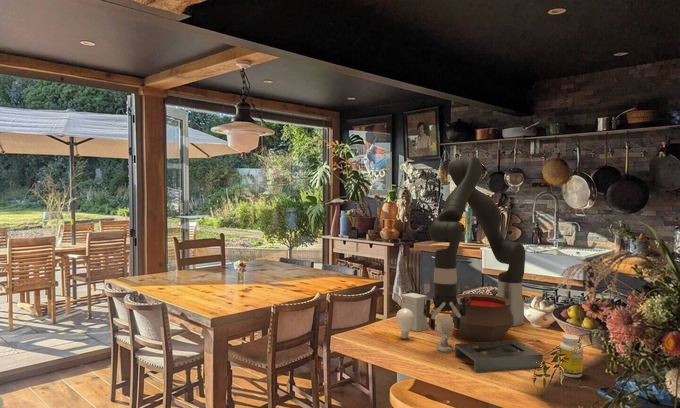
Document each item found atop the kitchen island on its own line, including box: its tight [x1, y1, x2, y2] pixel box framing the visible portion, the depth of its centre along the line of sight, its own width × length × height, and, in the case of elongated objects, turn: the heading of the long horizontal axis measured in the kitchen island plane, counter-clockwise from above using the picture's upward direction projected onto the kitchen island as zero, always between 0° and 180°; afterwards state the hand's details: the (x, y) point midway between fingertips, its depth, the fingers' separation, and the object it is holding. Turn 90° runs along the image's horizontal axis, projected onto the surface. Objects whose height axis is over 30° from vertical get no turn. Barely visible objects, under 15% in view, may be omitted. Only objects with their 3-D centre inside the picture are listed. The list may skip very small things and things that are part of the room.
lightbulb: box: [395, 308, 414, 340], centre depth 168 cm, size 6×6×11 cm
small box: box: [401, 292, 428, 332], centre depth 182 cm, size 8×6×13 cm
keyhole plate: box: [454, 339, 544, 373], centre depth 146 cm, size 22×14×4 cm, turn 101°
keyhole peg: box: [436, 314, 454, 354], centre depth 157 cm, size 5×5×12 cm
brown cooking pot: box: [449, 288, 514, 342], centre depth 172 cm, size 24×24×16 cm
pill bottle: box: [558, 333, 584, 378], centre depth 137 cm, size 6×6×11 cm
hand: (444, 329), depth 156 cm, fingers open, 8 cm apart
